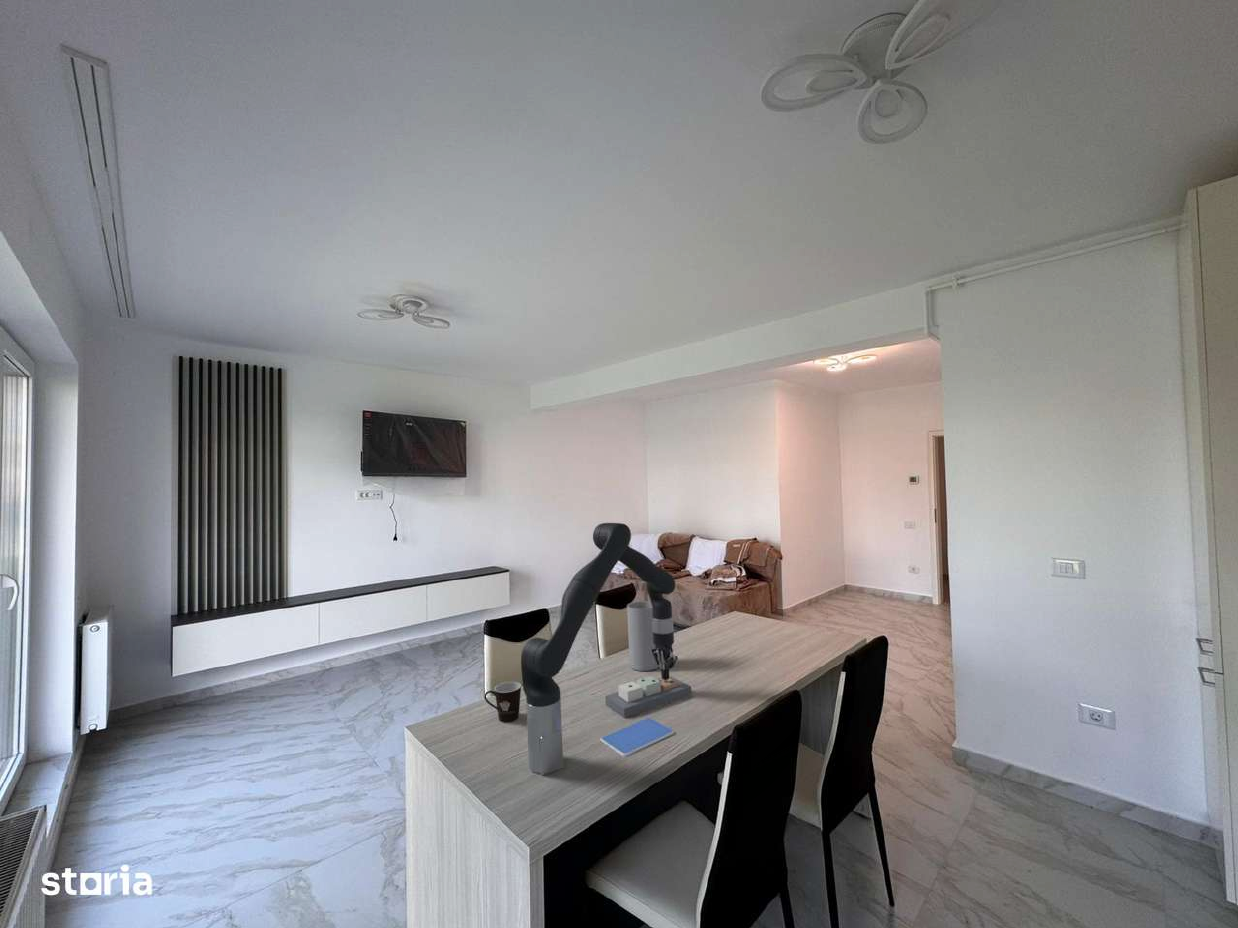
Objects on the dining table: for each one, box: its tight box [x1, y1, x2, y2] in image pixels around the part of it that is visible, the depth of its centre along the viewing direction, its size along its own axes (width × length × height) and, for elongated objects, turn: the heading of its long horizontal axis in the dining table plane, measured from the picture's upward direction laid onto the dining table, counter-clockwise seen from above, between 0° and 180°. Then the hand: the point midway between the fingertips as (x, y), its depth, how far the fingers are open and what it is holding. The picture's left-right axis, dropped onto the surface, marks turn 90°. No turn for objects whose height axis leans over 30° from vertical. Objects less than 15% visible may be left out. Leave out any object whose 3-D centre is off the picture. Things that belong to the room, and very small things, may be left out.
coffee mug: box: [484, 681, 522, 724], centre depth 160 cm, size 12×9×10 cm
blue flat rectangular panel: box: [599, 717, 675, 758], centre depth 144 cm, size 19×13×1 cm, turn 126°
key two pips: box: [635, 675, 661, 696], centre depth 168 cm, size 6×6×4 cm
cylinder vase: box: [626, 601, 660, 672], centre depth 200 cm, size 12×12×25 cm
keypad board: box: [604, 675, 692, 719], centre depth 168 cm, size 12×28×3 cm, turn 122°
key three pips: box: [657, 678, 678, 691], centre depth 172 cm, size 6×6×4 cm
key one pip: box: [617, 681, 643, 702], centre depth 164 cm, size 6×6×4 cm
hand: (665, 679), depth 172 cm, fingers closed
